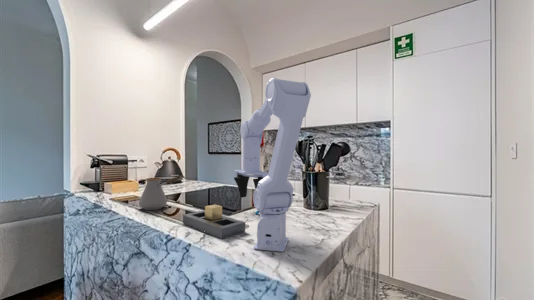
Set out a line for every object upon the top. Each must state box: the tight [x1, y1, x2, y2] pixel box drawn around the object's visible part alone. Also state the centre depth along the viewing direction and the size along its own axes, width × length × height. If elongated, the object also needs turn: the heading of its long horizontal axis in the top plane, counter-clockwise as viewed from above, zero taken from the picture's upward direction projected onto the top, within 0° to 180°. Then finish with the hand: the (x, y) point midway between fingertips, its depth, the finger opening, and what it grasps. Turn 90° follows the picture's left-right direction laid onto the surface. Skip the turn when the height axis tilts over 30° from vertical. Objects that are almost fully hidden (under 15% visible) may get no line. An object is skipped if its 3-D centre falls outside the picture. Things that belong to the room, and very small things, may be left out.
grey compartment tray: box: [182, 210, 246, 240], centre depth 83 cm, size 22×9×3 cm, turn 47°
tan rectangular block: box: [204, 204, 223, 222], centre depth 83 cm, size 4×4×7 cm
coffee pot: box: [138, 174, 186, 211], centre depth 108 cm, size 21×12×15 cm, turn 71°
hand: (251, 198), depth 84 cm, fingers open, 7 cm apart
